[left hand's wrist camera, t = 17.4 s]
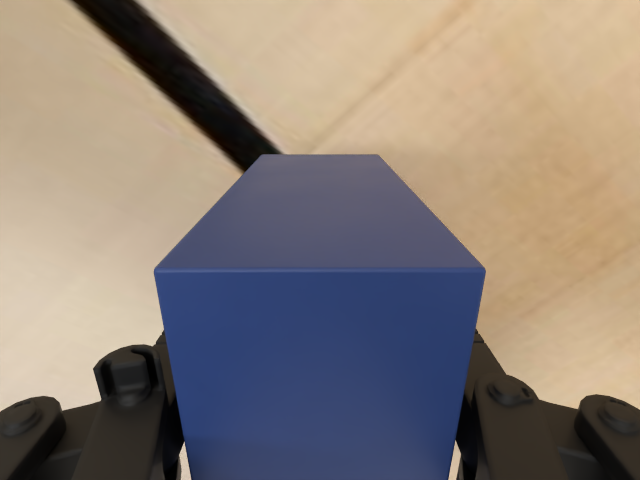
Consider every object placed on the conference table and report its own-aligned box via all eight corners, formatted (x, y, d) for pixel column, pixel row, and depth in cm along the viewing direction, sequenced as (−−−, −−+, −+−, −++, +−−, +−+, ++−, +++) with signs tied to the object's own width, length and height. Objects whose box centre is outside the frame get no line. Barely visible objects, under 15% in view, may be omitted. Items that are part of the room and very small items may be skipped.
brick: (368, 328, 19) (426, 607, 9) (271, 328, 19) (213, 606, 9) (378, 154, 16) (488, 268, 5) (261, 154, 16) (151, 269, 5)
